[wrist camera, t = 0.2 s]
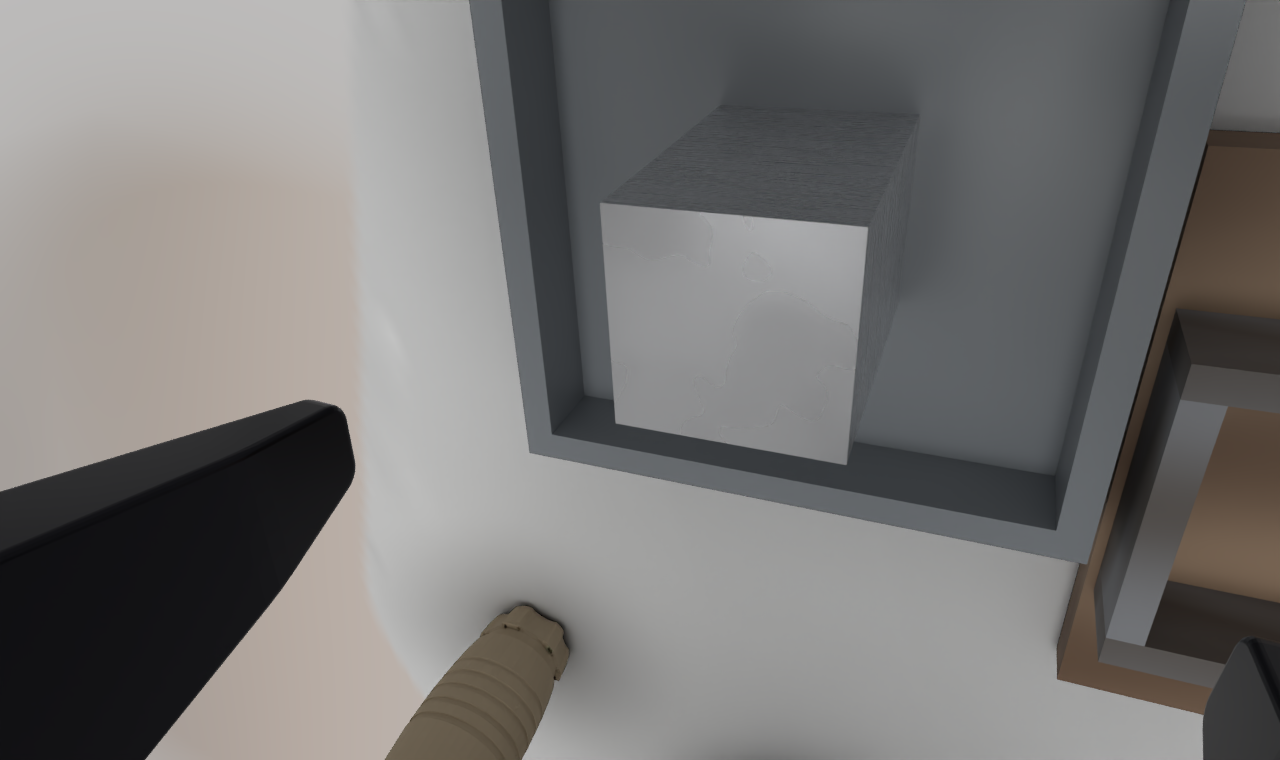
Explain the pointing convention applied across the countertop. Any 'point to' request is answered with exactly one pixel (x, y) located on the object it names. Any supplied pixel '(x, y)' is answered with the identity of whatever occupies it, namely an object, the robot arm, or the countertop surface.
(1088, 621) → the brown wood panel
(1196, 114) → the tote
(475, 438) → the countertop surface
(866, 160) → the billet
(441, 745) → the handle
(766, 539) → the countertop surface
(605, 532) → the countertop surface
